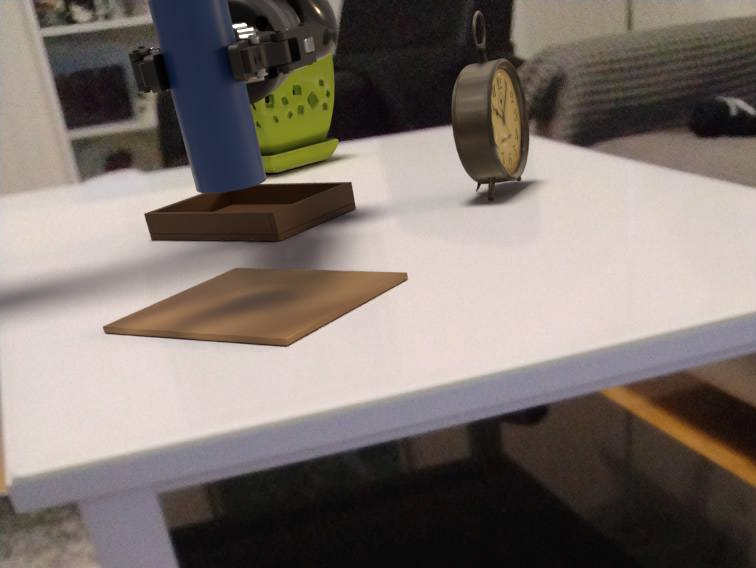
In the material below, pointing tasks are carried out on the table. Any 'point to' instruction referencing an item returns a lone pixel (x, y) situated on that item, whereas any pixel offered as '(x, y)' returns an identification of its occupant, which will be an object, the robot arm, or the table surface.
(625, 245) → the table surface
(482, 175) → the alarm clock
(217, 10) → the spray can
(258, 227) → the tray
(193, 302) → the wooden board
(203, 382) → the table surface
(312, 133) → the flower pot
